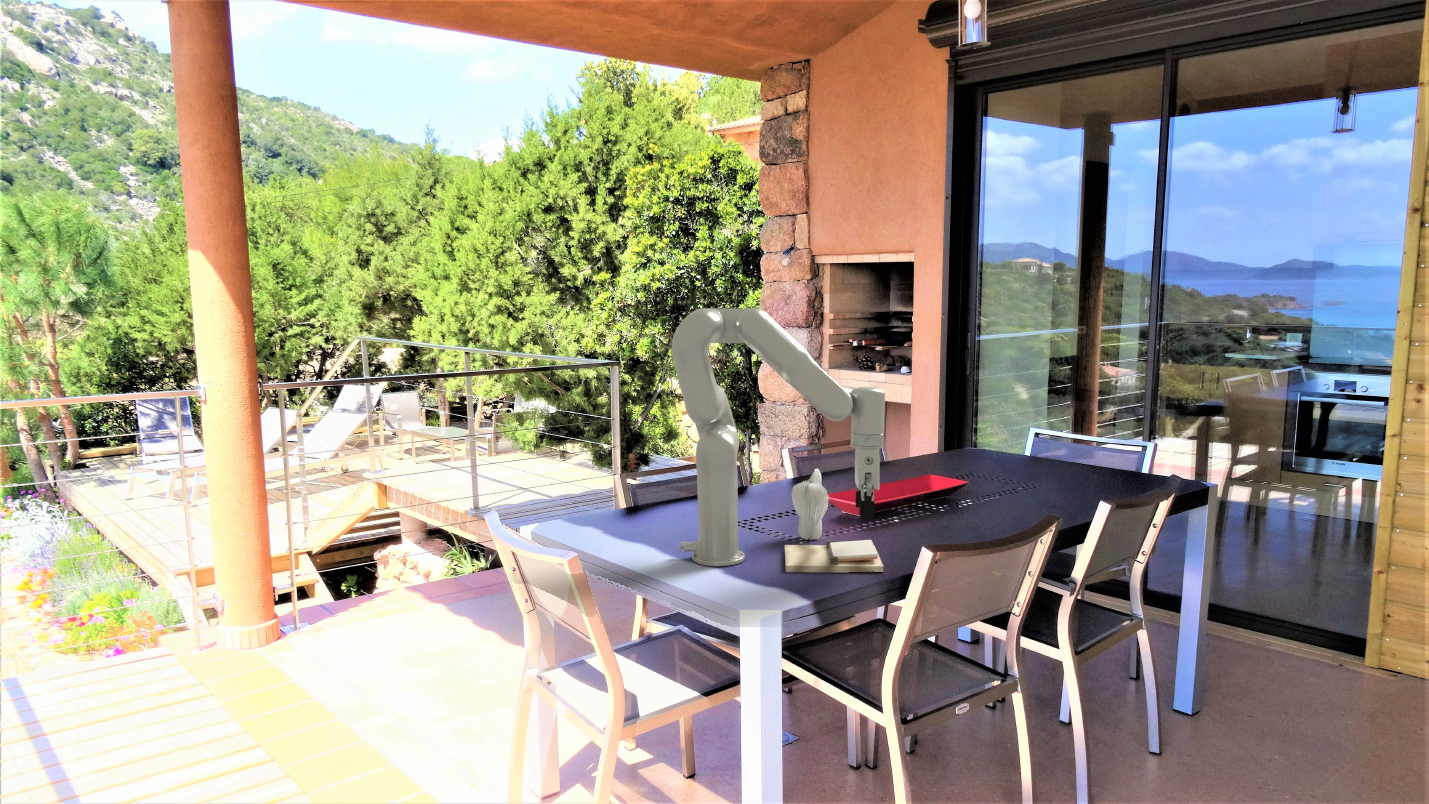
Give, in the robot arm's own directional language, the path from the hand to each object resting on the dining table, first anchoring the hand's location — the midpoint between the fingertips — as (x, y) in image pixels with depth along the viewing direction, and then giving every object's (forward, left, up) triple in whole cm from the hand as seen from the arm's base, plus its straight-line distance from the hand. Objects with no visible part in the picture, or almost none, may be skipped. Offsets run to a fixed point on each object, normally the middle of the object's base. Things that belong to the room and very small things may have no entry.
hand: (864, 512), depth 203 cm
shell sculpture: (-12, +20, -12) cm, 26 cm away
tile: (-3, 0, -9) cm, 9 cm away
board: (-8, 0, -12) cm, 14 cm away
